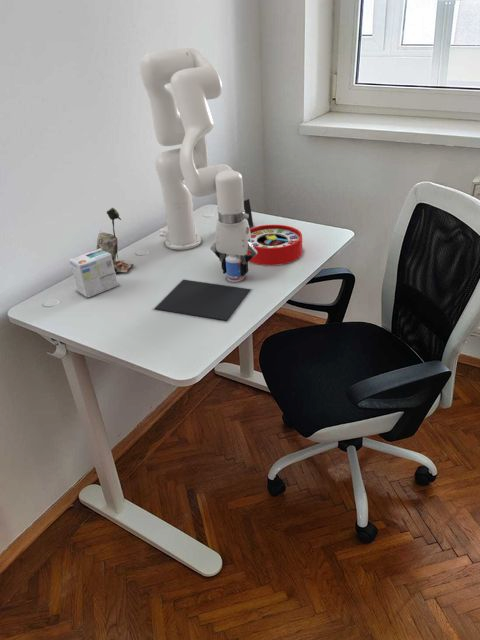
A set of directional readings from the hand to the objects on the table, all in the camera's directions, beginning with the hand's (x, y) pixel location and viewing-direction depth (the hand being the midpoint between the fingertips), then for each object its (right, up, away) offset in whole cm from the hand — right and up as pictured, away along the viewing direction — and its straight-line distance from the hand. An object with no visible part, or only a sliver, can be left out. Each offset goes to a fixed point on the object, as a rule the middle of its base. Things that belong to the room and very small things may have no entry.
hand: (235, 272), depth 160 cm
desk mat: (-9, -9, -9) cm, 16 cm away
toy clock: (+12, +9, +16) cm, 22 cm away
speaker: (+1, +22, +36) cm, 42 cm away
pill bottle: (0, -2, +1) cm, 2 cm away
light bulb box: (-42, -5, -2) cm, 42 cm away
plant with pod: (-39, +2, +9) cm, 40 cm away
